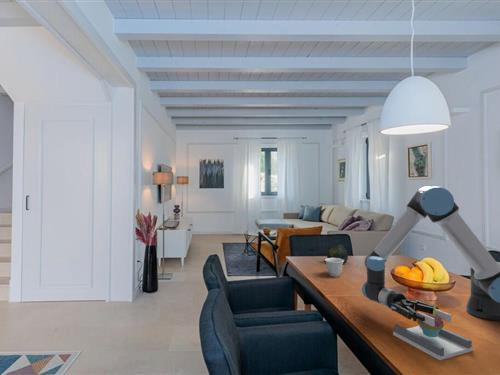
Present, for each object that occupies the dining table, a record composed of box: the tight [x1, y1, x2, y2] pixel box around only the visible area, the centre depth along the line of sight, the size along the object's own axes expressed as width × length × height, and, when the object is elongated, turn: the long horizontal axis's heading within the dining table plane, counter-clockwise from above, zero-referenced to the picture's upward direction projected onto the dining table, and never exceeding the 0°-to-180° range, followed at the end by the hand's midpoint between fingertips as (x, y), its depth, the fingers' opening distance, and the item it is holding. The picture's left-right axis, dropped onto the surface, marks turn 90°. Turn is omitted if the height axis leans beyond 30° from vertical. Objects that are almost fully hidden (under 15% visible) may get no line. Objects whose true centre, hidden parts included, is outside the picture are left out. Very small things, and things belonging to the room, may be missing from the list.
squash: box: [326, 244, 349, 265], centre depth 242 cm, size 14×15×15 cm
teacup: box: [324, 257, 344, 278], centre depth 212 cm, size 12×15×10 cm
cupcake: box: [416, 302, 445, 337], centre depth 121 cm, size 9×8×12 cm
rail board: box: [392, 324, 473, 361], centre depth 121 cm, size 20×16×4 cm
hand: (442, 320), depth 116 cm, fingers closed on cupcake, 8 cm apart
